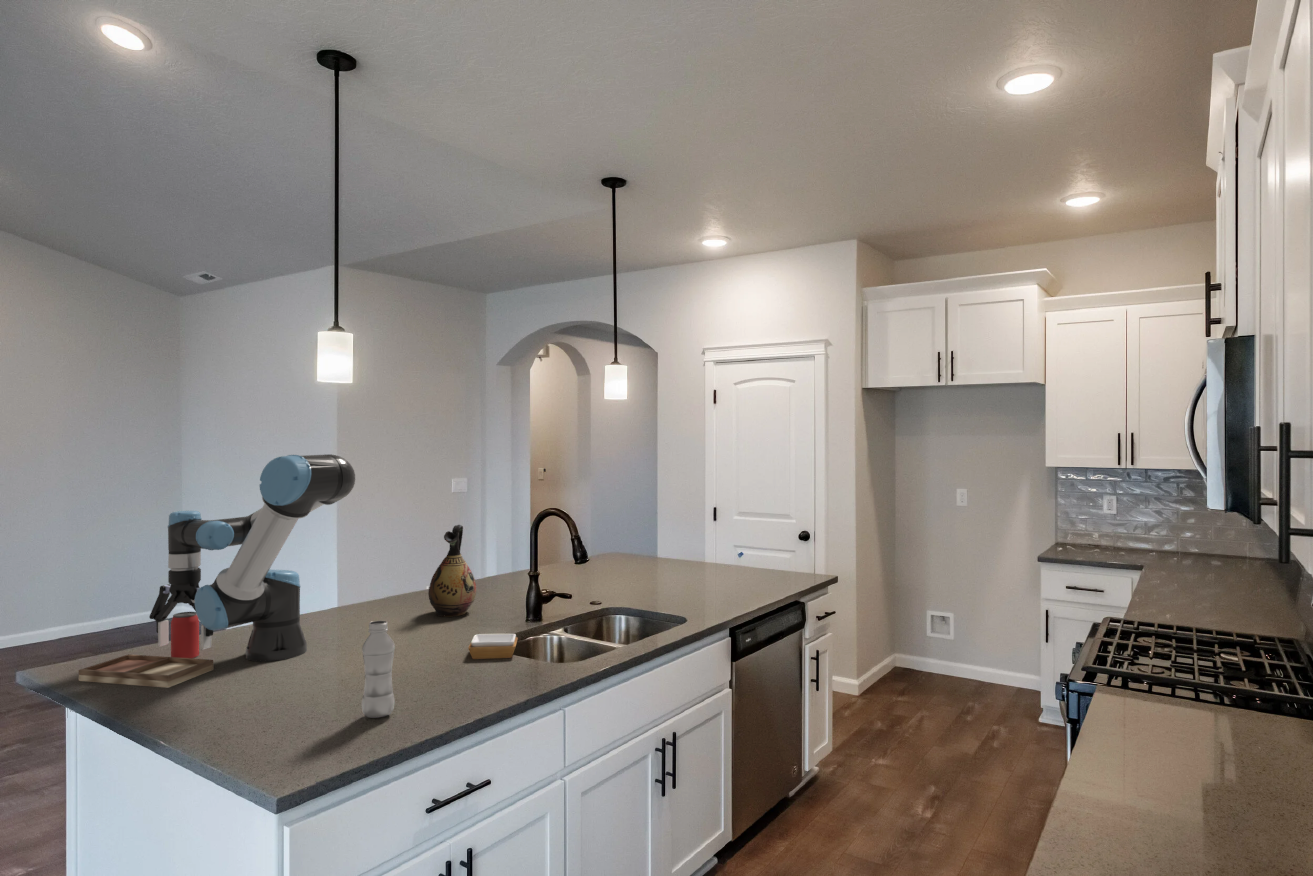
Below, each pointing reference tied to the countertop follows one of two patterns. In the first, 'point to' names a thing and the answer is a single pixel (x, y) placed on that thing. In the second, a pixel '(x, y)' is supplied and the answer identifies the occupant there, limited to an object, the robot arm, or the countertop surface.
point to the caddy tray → (146, 670)
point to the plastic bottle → (378, 671)
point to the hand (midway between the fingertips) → (184, 646)
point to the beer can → (185, 635)
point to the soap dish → (492, 646)
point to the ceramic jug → (452, 580)
